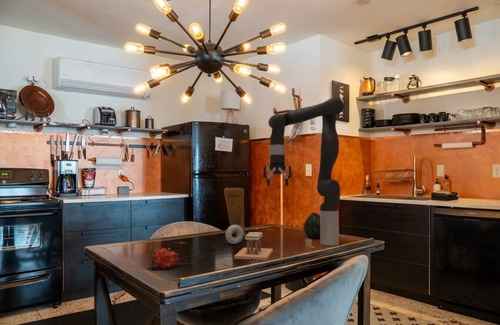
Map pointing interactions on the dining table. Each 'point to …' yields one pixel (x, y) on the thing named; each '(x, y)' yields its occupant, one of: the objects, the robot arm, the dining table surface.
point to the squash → (312, 226)
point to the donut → (231, 230)
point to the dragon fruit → (164, 258)
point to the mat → (261, 254)
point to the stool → (252, 237)
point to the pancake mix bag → (235, 206)
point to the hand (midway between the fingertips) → (277, 186)
